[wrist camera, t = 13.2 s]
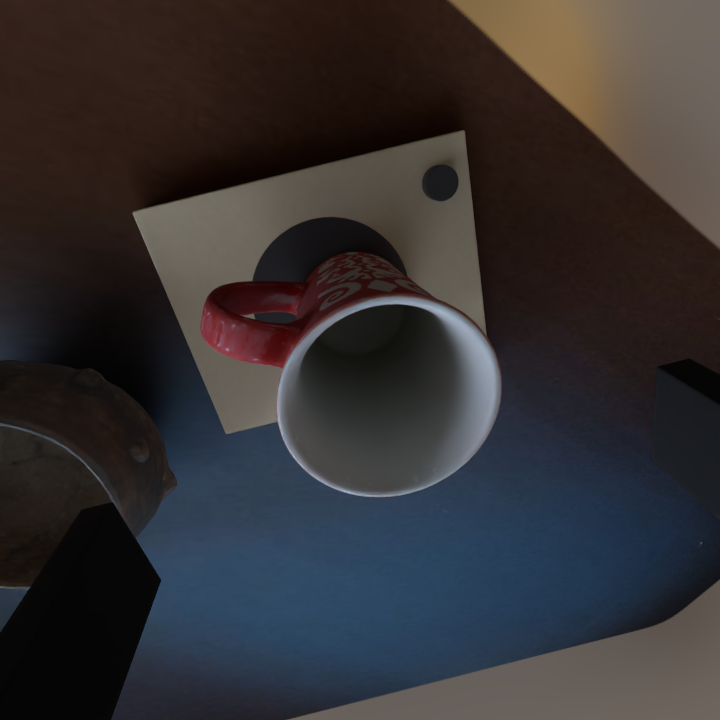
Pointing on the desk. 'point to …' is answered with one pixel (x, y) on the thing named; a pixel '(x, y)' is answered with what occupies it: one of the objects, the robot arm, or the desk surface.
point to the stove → (315, 246)
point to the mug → (365, 373)
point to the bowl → (69, 460)
